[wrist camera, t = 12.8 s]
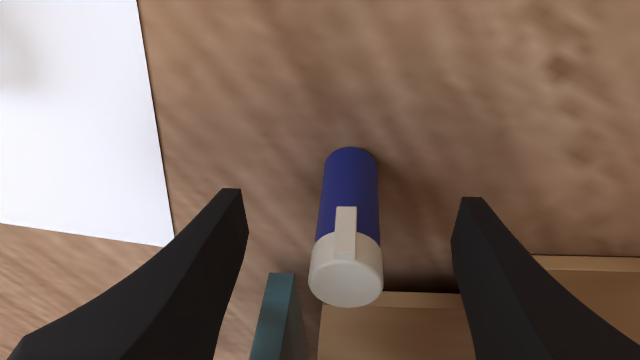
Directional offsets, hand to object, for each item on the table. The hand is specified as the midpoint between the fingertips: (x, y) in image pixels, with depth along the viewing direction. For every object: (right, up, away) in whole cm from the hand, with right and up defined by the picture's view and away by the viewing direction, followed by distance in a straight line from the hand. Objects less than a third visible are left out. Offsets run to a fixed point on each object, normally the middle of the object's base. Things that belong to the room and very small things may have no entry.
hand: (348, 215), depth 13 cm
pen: (0, +2, +2) cm, 3 cm away
